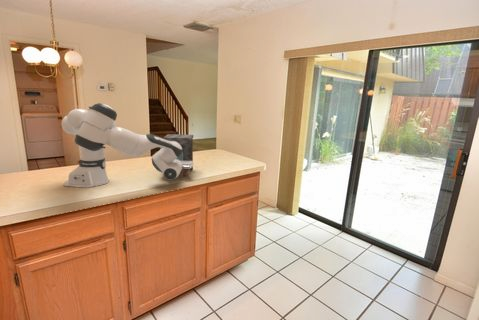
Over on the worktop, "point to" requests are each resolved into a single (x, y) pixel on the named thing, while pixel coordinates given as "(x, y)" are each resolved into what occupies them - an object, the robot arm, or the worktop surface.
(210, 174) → the worktop surface
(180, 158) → the peg
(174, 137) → the dark grey upright block
